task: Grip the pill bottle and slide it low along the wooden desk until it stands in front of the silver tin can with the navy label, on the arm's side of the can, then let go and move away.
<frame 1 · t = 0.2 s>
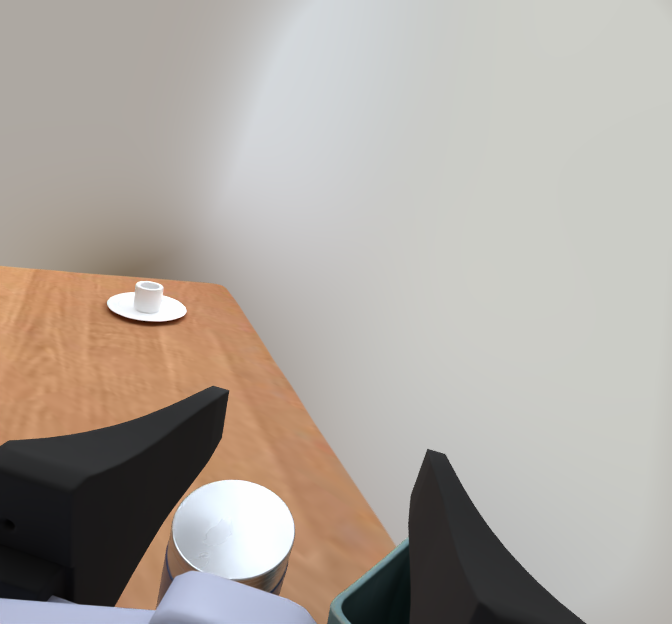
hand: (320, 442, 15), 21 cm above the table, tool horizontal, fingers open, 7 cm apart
candle holder: (147, 311, 71), on the table
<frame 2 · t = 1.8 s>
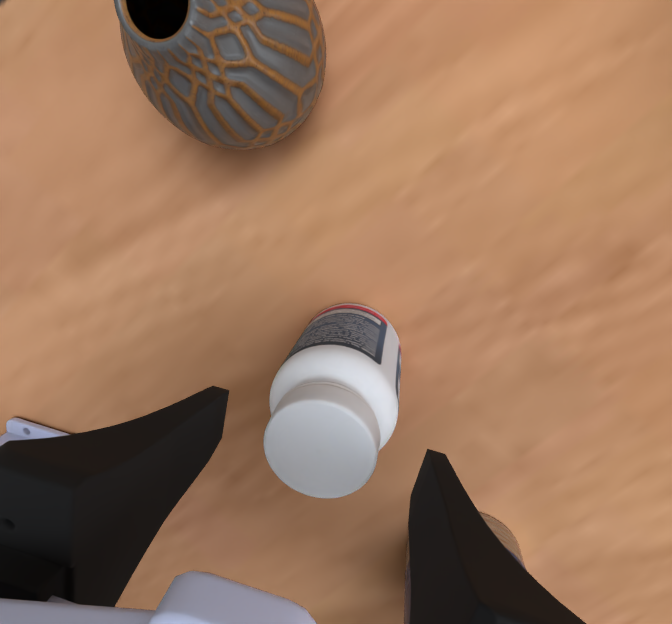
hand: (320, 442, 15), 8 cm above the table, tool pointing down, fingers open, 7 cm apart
tin can: (462, 553, 26), on the table
vase: (264, 72, 20), on the table
pill bottle: (352, 347, 23), on the table
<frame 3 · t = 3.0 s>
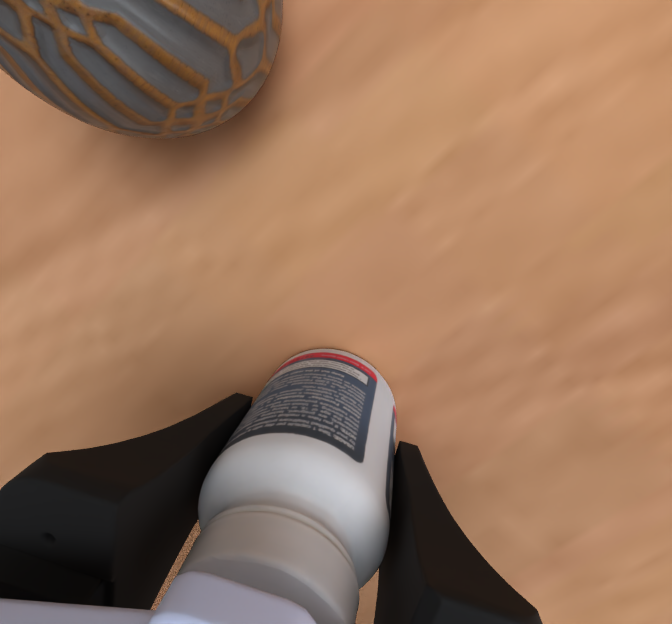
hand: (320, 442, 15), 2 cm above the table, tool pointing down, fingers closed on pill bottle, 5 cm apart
vase: (204, 31, 14), on the table
pill bottle: (331, 404, 17), on the table, touching gripper
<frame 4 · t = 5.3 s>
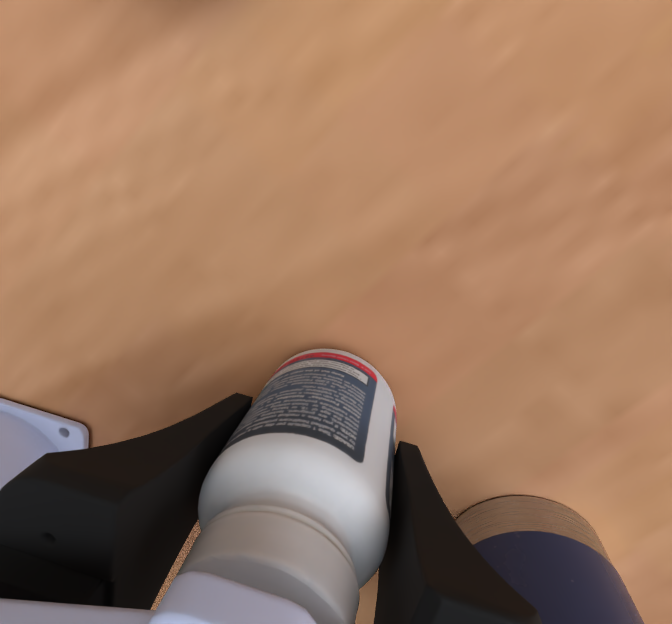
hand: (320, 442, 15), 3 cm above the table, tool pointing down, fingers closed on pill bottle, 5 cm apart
tin can: (520, 557, 19), on the table
pill bottle: (331, 404, 17), point 1 cm above the table, touching gripper
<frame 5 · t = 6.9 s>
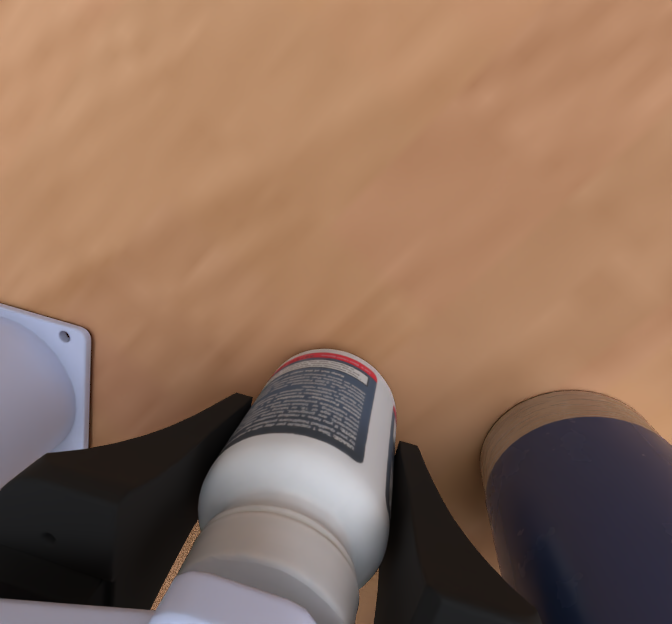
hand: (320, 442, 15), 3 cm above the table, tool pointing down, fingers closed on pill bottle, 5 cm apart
tin can: (566, 464, 17), on the table
pill bottle: (331, 404, 17), point 1 cm above the table, touching gripper
when the fingers open (2 cm above the table, at t = 8.0 s): pill bottle stays where it is, on the table.
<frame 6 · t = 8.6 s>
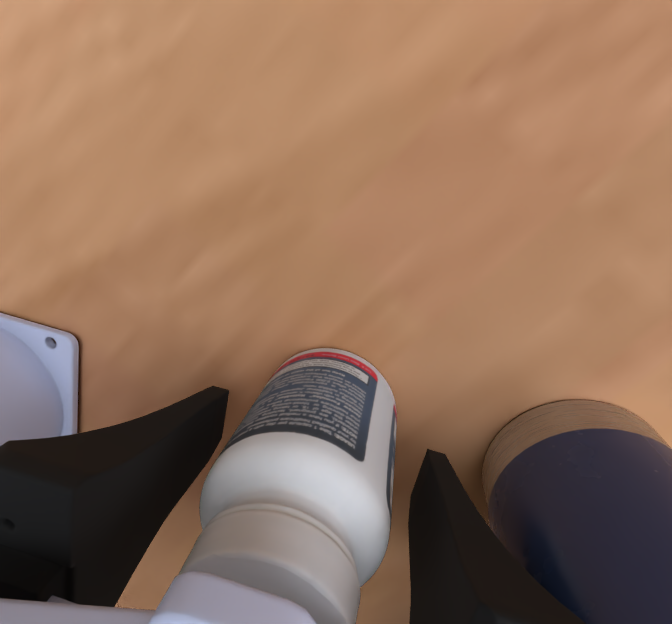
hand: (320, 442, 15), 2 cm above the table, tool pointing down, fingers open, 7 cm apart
tin can: (572, 476, 16), on the table
pill bottle: (332, 403, 17), on the table
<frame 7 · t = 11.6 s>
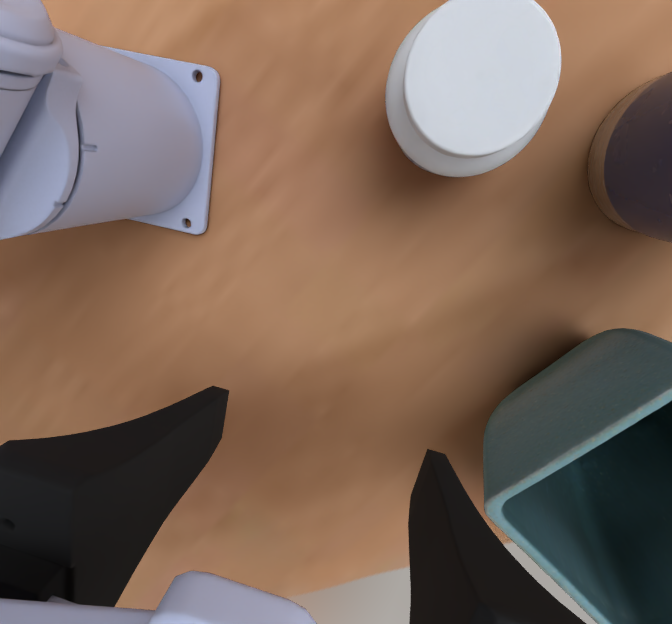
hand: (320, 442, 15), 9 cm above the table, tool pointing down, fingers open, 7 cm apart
tin can: (670, 156, 19), on the table
flower pot: (575, 395, 23), on the table
pill bottle: (450, 115, 20), on the table
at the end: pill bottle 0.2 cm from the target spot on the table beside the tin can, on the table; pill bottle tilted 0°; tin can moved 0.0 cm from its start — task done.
